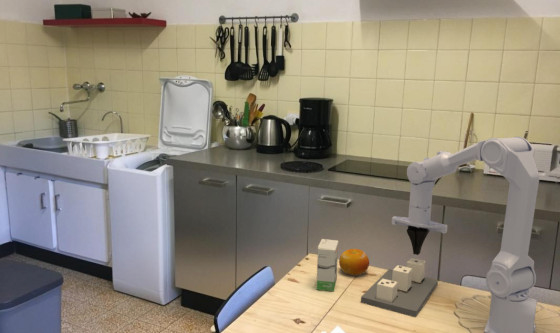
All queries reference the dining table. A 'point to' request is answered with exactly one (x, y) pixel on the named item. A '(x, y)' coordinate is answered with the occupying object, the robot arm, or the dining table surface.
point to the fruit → (354, 262)
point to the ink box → (327, 264)
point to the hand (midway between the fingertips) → (416, 253)
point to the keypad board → (403, 296)
